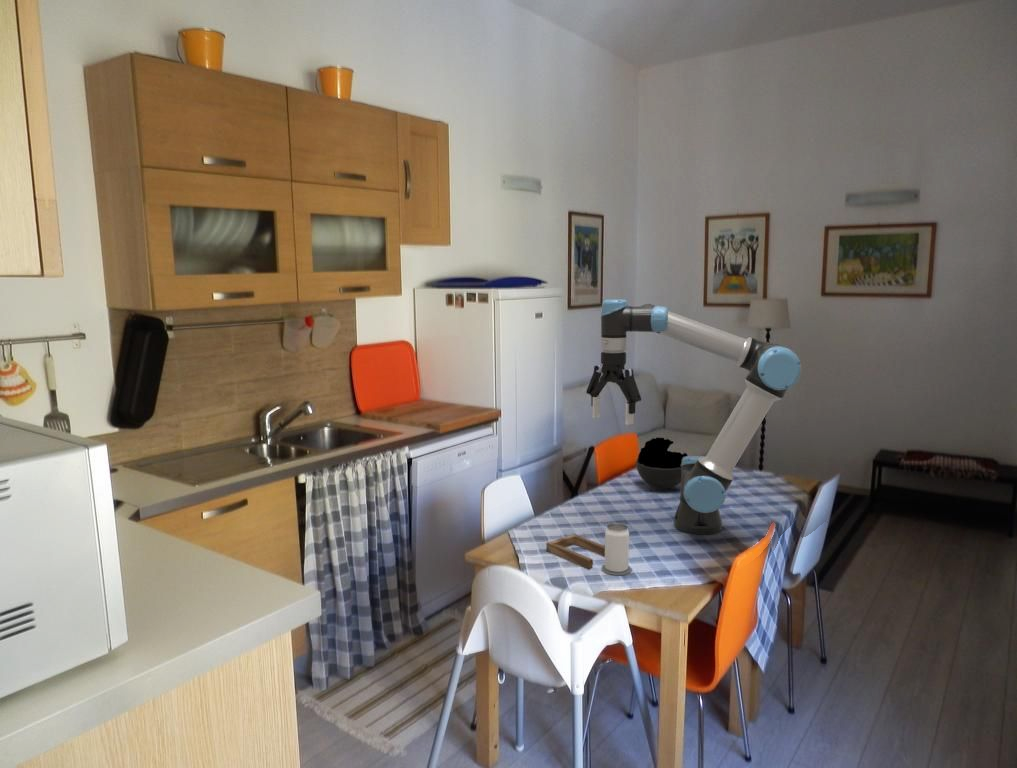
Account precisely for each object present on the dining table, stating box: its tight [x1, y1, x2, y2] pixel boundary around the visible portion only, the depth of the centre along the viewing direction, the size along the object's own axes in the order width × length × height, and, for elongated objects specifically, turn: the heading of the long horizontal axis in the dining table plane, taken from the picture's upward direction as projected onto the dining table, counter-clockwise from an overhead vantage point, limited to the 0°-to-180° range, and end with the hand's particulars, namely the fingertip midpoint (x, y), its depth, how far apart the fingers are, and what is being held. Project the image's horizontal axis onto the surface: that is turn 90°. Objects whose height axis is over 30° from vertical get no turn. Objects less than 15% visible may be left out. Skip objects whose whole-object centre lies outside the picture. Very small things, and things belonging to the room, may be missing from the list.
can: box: [604, 522, 630, 573], centre depth 200 cm, size 6×6×12 cm
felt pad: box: [601, 563, 632, 577], centre depth 201 cm, size 8×8×1 cm
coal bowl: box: [635, 437, 688, 490], centre depth 276 cm, size 20×20×19 cm
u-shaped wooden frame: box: [545, 533, 605, 570], centre depth 211 cm, size 12×18×2 cm, turn 39°
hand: (612, 420), depth 221 cm, fingers open, 13 cm apart
